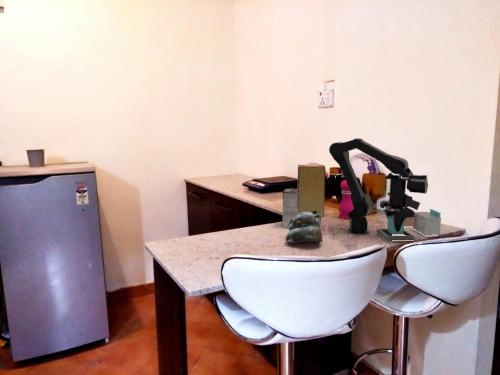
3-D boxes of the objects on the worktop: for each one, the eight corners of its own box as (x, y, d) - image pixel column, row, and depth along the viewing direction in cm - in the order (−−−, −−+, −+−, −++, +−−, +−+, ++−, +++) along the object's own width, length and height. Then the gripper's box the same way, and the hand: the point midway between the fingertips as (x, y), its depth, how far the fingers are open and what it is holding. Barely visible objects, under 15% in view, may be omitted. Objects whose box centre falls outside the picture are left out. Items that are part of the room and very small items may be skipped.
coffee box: (284, 222, 168) (284, 188, 165) (298, 223, 167) (299, 188, 164) (282, 227, 159) (282, 191, 157) (296, 228, 158) (297, 192, 155)
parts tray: (386, 241, 139) (387, 236, 139) (376, 234, 149) (377, 228, 149) (413, 241, 139) (414, 236, 139) (401, 233, 149) (402, 228, 149)
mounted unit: (424, 237, 144) (426, 214, 143) (412, 230, 154) (414, 208, 153) (440, 237, 145) (442, 213, 143) (427, 230, 154) (429, 208, 153)
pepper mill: (353, 216, 179) (355, 176, 176) (353, 220, 172) (355, 178, 169) (338, 215, 181) (339, 175, 178) (337, 219, 174) (339, 177, 171)
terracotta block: (402, 228, 157) (403, 215, 156) (397, 226, 161) (398, 212, 160) (412, 228, 157) (413, 215, 156) (407, 225, 162) (408, 212, 161)
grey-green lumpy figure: (278, 243, 137) (279, 208, 142) (297, 249, 145) (297, 215, 150) (311, 240, 127) (311, 202, 132) (330, 246, 135) (329, 210, 140)
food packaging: (322, 212, 187) (324, 164, 183) (324, 217, 178) (326, 166, 174) (296, 212, 188) (297, 164, 184) (297, 216, 179) (298, 166, 175)
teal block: (391, 234, 142) (392, 219, 141) (387, 230, 146) (388, 216, 145) (403, 234, 142) (404, 219, 141) (398, 230, 146) (399, 216, 145)
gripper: (430, 195, 132) (427, 236, 135) (407, 186, 151) (404, 223, 153) (400, 195, 132) (397, 237, 134) (380, 187, 150) (378, 223, 153)
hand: (395, 229), depth 144 cm, fingers closed on teal block, 4 cm apart
